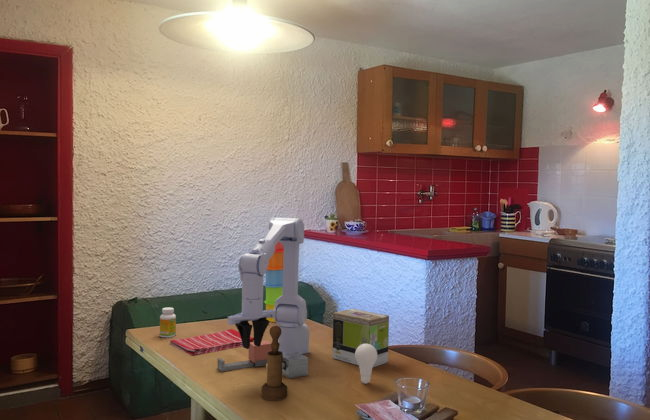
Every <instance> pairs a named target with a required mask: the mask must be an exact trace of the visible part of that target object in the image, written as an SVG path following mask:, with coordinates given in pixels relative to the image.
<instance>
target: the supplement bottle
mask: <svg viewBox="0 0 650 420" xmlns="http://www.w3.org/2000/svg"><path fill="white" fill-rule="evenodd" d="M174 312H175V309H174V307H169V306H168V307H163V308H162V309H161V315H160V316H159V337H161V338H166V339H167V338H168V339H169V338H174V337H175V336H176V331H177V321H176V319H177V317H176V316H177V315H176V314H175V313H174Z"/></svg>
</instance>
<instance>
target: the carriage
mask: <svg viewBox="0 0 650 420" xmlns="http://www.w3.org/2000/svg"><path fill="white" fill-rule="evenodd" d="M271 343H272V342H271V341H269V340H262V341H261V345H260V346H259V347H258V346H256V345H254V341H253V342H250V347H249V349H248V360H251V361H252V362H253V363H255V366H254V367H261V366H262V367H263V366H266V365H267V353H268V352H270V351H272V349H271Z"/></svg>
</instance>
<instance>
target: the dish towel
mask: <svg viewBox="0 0 650 420" xmlns="http://www.w3.org/2000/svg"><path fill="white" fill-rule="evenodd" d="M250 342H254V336H253V337H252V336H250ZM169 343H170V345H171V346H173V347H175V348H177V349H179V350H181V351H182V352H184V353H186V354H188V355H190V356H198V355H205V354H210V353H215V352H219V351H225V350H226V351H227V350H231V349H236V348H241V347H242V348H243V344H242V339H241V336H240V333H239V331H238V330H236V329H233V328H229V329H226V330H222V331H217V332H214V333H212V332H211V333H206V334H203V335H197V336H192V337H191V336H190V337H186V338H185V337H184V338H175V339H172V340H170V341H169Z"/></svg>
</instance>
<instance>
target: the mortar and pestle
mask: <svg viewBox="0 0 650 420" xmlns="http://www.w3.org/2000/svg"><path fill="white" fill-rule="evenodd" d="M269 335H270V337H271V338H272V342H271V349H272V351H270V352H268V353H267V369H266V382H265V383H264V384H263V385H262V386H261V390H260V391H261V392H260V396H261V398H262V399H264V400H267V401H281V400H284V399H286V398H287V397H288V386H287V385H286V384H285V383H284V382H283V374H282V361H283V353H282V352H281V351H278V350H279V346H280V344H279V337H280V335H281V328H280V327H279V325H273V326H271V327H270V329H269Z"/></svg>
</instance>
